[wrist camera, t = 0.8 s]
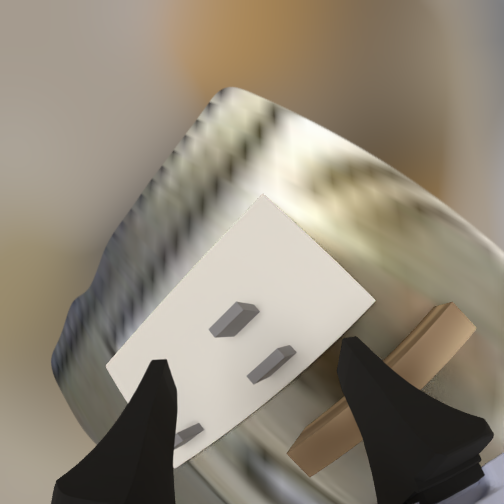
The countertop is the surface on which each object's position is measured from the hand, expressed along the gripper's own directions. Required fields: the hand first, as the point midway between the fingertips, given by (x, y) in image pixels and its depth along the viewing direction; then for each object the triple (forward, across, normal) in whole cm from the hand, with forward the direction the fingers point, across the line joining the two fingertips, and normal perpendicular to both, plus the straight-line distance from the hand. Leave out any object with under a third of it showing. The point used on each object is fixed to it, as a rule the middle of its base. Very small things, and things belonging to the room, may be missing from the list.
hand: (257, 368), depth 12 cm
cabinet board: (+12, +2, +10) cm, 15 cm away
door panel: (+5, -10, +10) cm, 15 cm away
